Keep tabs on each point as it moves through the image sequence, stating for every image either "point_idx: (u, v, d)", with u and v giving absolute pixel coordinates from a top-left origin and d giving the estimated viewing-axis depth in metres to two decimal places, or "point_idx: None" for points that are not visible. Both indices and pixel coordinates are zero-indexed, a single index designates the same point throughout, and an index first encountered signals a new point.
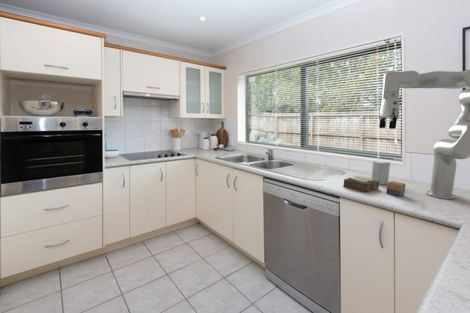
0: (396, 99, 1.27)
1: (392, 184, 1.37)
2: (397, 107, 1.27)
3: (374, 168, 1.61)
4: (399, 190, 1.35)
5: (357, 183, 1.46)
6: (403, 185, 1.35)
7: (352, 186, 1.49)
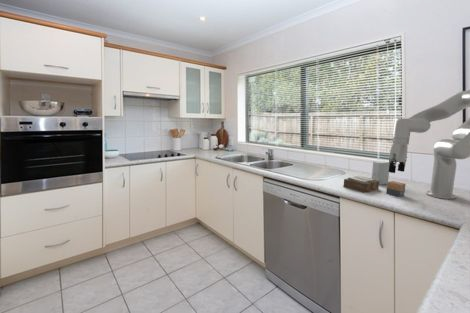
0: None
1: (392, 184, 1.37)
2: None
3: (374, 168, 1.61)
4: (399, 190, 1.35)
5: (357, 183, 1.46)
6: (403, 185, 1.35)
7: (352, 186, 1.49)
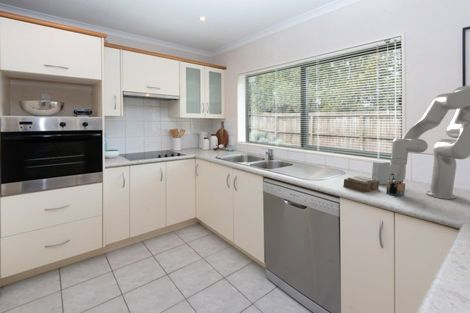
0: None
1: None
2: None
3: (374, 168, 1.61)
4: (399, 190, 1.35)
5: (357, 183, 1.46)
6: (403, 185, 1.35)
7: (352, 186, 1.49)
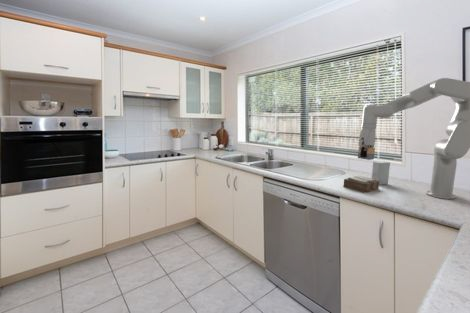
0: None
1: None
2: None
3: (374, 168, 1.61)
4: (369, 153, 1.44)
5: (357, 183, 1.46)
6: (372, 149, 1.45)
7: (352, 186, 1.49)
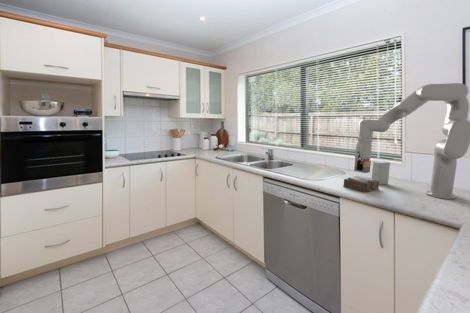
0: None
1: None
2: None
3: (374, 168, 1.61)
4: (364, 166, 1.46)
5: (357, 183, 1.46)
6: (368, 162, 1.47)
7: (352, 186, 1.49)
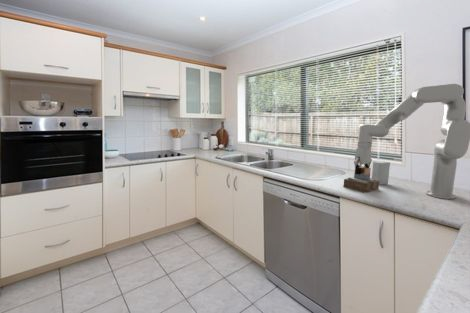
0: None
1: None
2: None
3: (374, 168, 1.61)
4: (364, 174, 1.47)
5: (357, 183, 1.46)
6: (368, 169, 1.47)
7: (352, 186, 1.49)
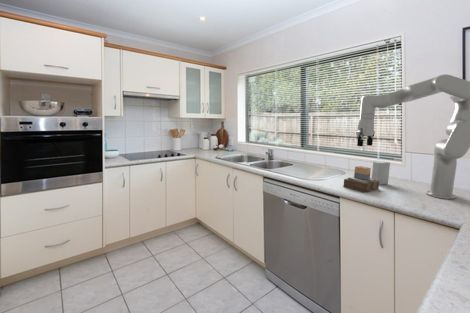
0: None
1: (359, 168, 1.50)
2: None
3: (374, 168, 1.61)
4: (364, 174, 1.47)
5: (357, 183, 1.46)
6: (368, 169, 1.47)
7: (352, 186, 1.49)
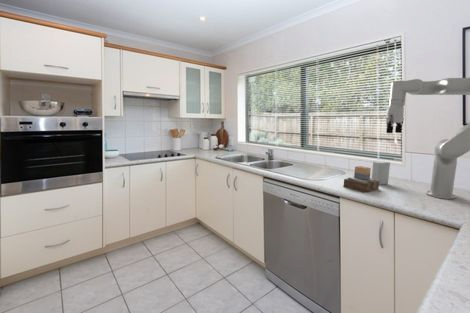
0: None
1: (359, 168, 1.50)
2: None
3: (374, 168, 1.61)
4: (364, 174, 1.47)
5: (357, 183, 1.46)
6: (368, 169, 1.47)
7: (352, 186, 1.49)
